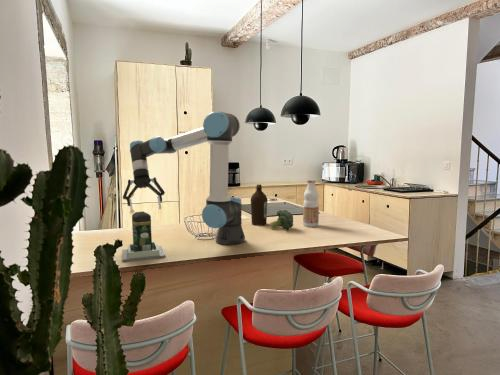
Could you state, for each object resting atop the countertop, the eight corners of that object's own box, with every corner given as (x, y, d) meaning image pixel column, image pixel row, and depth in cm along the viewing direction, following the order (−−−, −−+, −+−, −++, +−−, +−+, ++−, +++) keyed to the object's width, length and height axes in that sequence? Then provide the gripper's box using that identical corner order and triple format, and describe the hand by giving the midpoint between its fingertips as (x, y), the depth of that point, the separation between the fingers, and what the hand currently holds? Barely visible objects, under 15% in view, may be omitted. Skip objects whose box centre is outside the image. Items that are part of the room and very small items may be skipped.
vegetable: (271, 222, 221) (293, 212, 218) (277, 239, 213) (299, 229, 210) (263, 213, 211) (286, 203, 208) (269, 231, 203) (293, 220, 201)
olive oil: (249, 225, 221) (249, 185, 219) (252, 221, 232) (252, 183, 229) (266, 226, 220) (266, 185, 217) (268, 222, 230) (268, 184, 227)
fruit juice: (302, 227, 216) (303, 181, 213) (303, 223, 226) (303, 179, 222) (318, 227, 215) (319, 181, 212) (318, 224, 224) (319, 179, 221)
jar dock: (161, 247, 173) (161, 240, 173) (165, 257, 158) (165, 249, 158) (122, 251, 167) (122, 244, 167) (122, 262, 152) (122, 254, 152)
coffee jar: (131, 250, 165) (130, 211, 163) (149, 248, 169) (147, 209, 167) (135, 256, 156) (134, 214, 154) (154, 253, 160) (152, 213, 158)
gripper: (164, 170, 189) (170, 209, 184) (114, 175, 180) (119, 215, 175) (166, 165, 183) (172, 205, 177) (114, 169, 173) (119, 211, 168)
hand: (146, 210), depth 176 cm, fingers open, 13 cm apart
